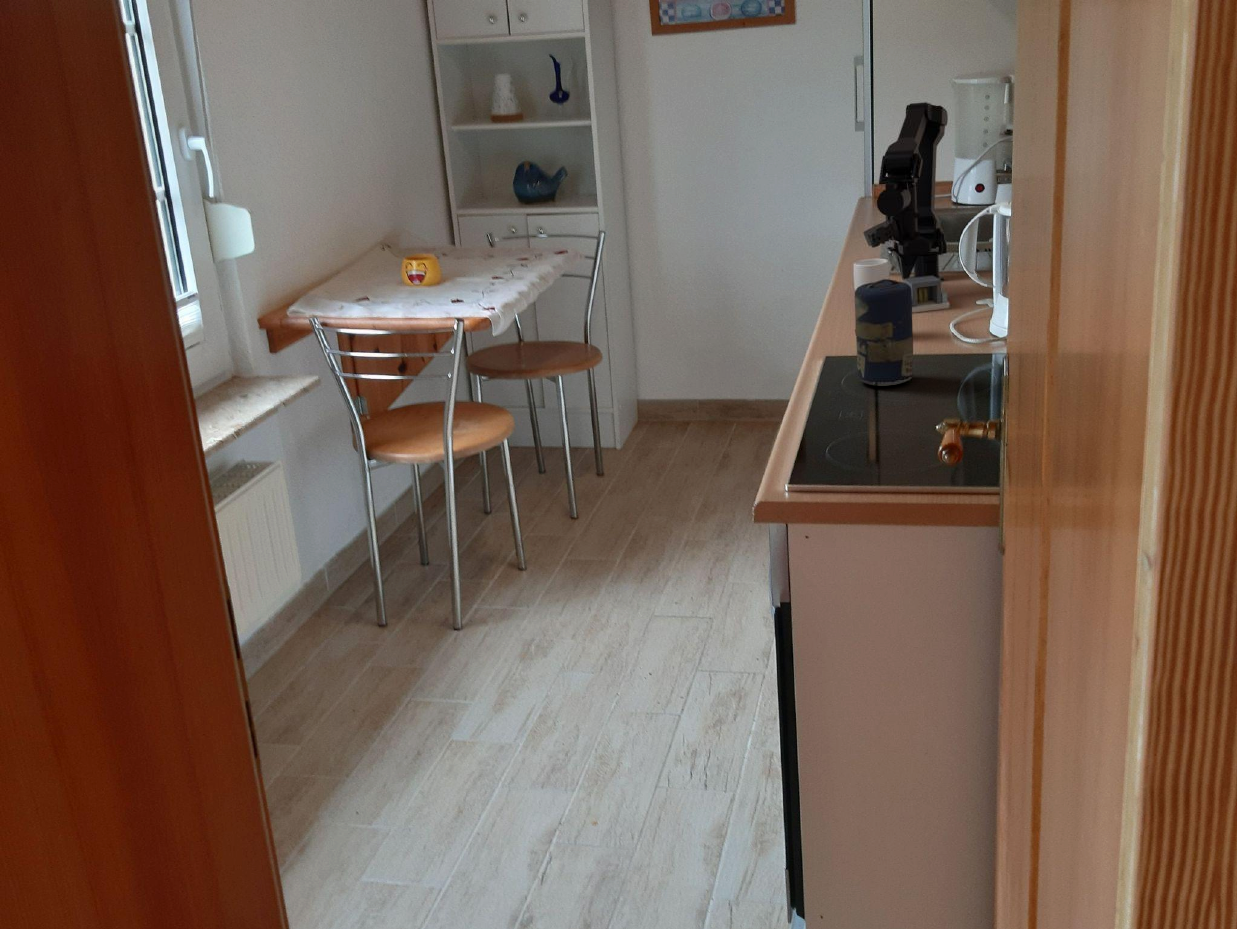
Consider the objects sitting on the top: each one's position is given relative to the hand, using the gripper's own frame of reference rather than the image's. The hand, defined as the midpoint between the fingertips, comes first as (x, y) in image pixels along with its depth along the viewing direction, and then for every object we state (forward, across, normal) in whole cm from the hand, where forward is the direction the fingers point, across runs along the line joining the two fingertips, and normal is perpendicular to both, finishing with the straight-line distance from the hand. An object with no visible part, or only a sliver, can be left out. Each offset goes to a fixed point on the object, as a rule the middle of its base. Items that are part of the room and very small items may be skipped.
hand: (905, 279), depth 264 cm
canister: (+4, +61, -23) cm, 65 cm away
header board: (+4, +5, 0) cm, 6 cm away
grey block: (+3, +11, 0) cm, 12 cm away
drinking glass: (+4, +30, -16) cm, 34 cm away
